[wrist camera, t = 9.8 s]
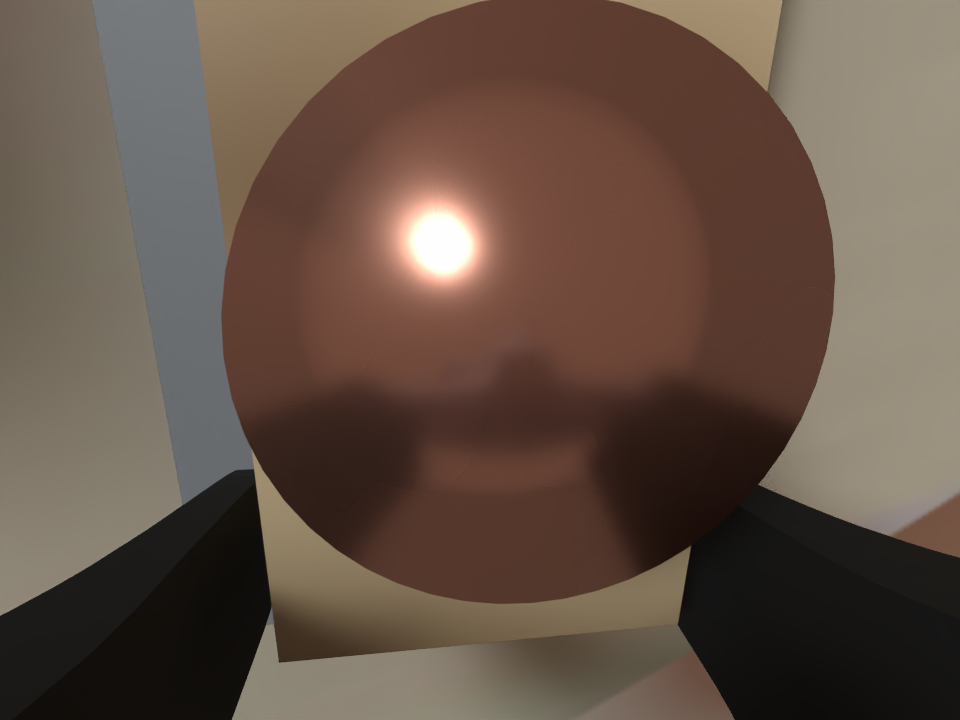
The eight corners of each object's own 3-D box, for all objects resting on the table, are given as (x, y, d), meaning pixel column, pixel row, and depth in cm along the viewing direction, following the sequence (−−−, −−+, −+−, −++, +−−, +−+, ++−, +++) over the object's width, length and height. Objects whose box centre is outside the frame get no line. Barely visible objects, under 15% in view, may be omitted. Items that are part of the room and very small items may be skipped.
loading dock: (639, 531, 16) (680, 591, 14) (237, 559, 15) (203, 633, 12) (736, -204, 11) (832, -320, 8) (111, -285, 9) (6, -454, 7)
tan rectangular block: (574, 458, 12) (677, 624, 8) (331, 471, 12) (278, 662, 7) (615, -44, 9) (830, -285, 5) (288, -71, 9) (142, -391, 4)
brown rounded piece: (639, 445, 7) (769, 583, 4) (315, 457, 6) (257, 624, 4) (687, 96, 5) (905, 22, 3) (285, 72, 5) (171, -40, 3)
